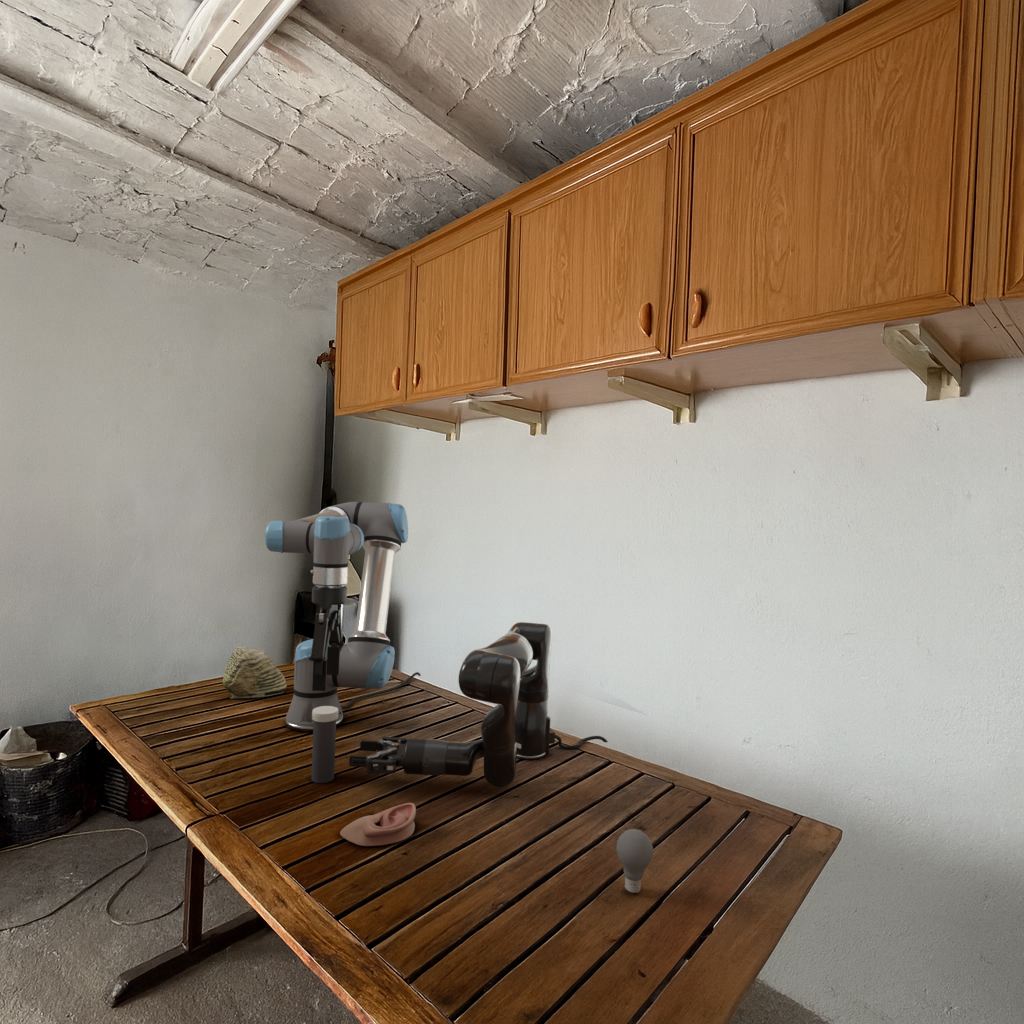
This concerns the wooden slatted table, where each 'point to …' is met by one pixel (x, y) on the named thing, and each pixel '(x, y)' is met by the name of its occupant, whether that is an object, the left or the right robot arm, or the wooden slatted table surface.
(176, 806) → the wooden slatted table surface
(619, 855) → the light bulb
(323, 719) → the lid
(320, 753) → the jar
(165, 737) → the wooden slatted table surface
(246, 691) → the fossil
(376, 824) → the anatomical model
